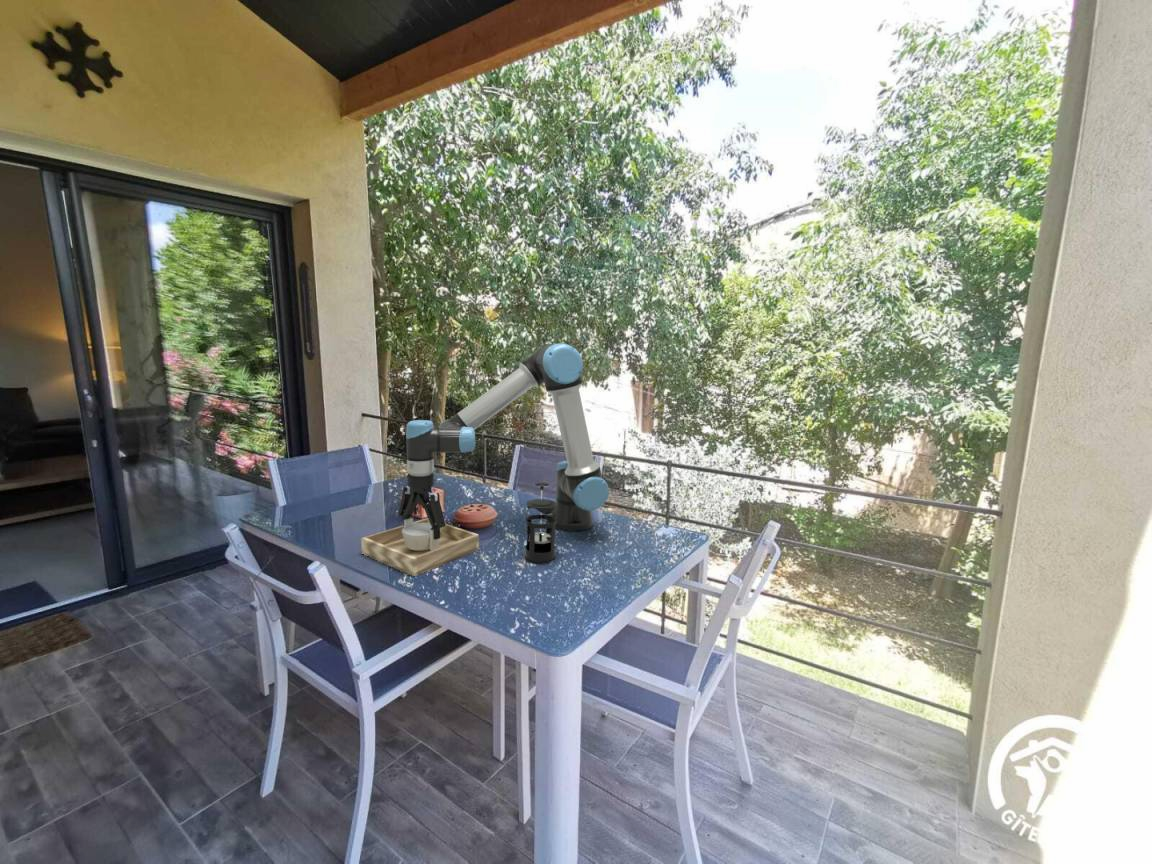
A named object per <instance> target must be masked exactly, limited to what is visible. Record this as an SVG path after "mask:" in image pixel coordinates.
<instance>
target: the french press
mask: <svg viewBox="0 0 1152 864" xmlns="http://www.w3.org/2000/svg"><path fill="white" fill-rule="evenodd" d="M534 486H536V487H539V489H540V498H538V499H537V498H536V499H531V500H528V501H526V503H525V505H526V506H527V511H529V510H530V509H535V510H537V511H539V512H540V514H533V515H528V516H527V517H526V518H525V525H526V545H525V548H524V558H523V559H524V560H525V561H526V562H527V563H530V564H534V563H535V565H544V564H543V563H547V564H549V563H548V562H551V561H553V560H554V561H555V560H556V559H555V558H557V556H556V545H555V543H556V542H555V539H556V538H555V536H556V532H555V531H556V528H555V525H556V518H555V515H552V513H553V512H555V506H556V505H557V503H556V500H555V501H554V500H551V499H546V498H543V491H544V487H548V486H550V483H548V482H544V481H541V482H539V481H538V482H535V483H534ZM532 520H540V521H539V522H540V523H533V522H532ZM543 520H546V523H544V524H542V522H543ZM536 529H539V531H540V532H538V531H537V532H536ZM543 529H545V532H543V531H542V530H543ZM554 561H553V562H554ZM551 563H552V562H551Z"/></svg>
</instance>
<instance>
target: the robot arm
mask: <svg viewBox="0 0 1152 864" xmlns="http://www.w3.org/2000/svg"><path fill="white" fill-rule="evenodd" d="M583 361H584V360H583V357H582V355H581V354H580V352H579V351H578V350H577V349H576V348H575V347H573V346H571V345H569V344H566V343H547V344H544V345H542V346H540V347H539V348H538V349H536V350H535V351H534V352H533V353H532V354H530V355H529V356H528V357H526V358H525V359H524V360H523V361H522V362H520V363H519V366H518V368H517V369H515V370H514V371H513V372H512V373H510V374H509V375H507V376H506V377H505V378H504V379H502V380H501V381H500V382H498V383H497V384H496V385H494V386H492V387H491V388H490V389H489V390H487V391H486V392H485V393H483V394H481V395H480V396H479V397H478V398H476V399H475V400H474V401H472V402H470V403H469V404H468V405H467V406H466V407H464V408H463V409H461V410H460V411H459V412H458V413H456V414H454V415H453V416H452V417H450V418H449V419H445V420H444V421H442V422H440V424H439V426H434V423H433V421H432V420H427V419H425V420H424V419H417V420H410V421H409V422H407V424H406V433H405V435H406V436H405V437H406V438H405V442H406V443H405V444H406V472H407V473H408V474H407V475H406V481H407V483H406V485H407V486H404V487H402V496H401V501H400V505H399V509H398V516H399V517H401V518H402V520H403V525H404V527H406V526H408V525H411V524H413V522H414V517H413V514H414V512H415V510H416V507H417V506H418V505H419V506H421V507H422V509H424V511H425V514H426V516H427V517H426V518H428V519H429V521H430V524H431V526H432V528H431V529H430V550H435V549H437V548H439V538H440V528H441V527H444V526H445V524H446V520H445V516H444V513H443V509H442V505H441V501H440V500H441V498H440V494H439V492H437V493H434V492H432V488H433V487H434V485H435V475H434V472H435V460H434V457H435V456H434V454H442V453H444V454H447V453H448V454H449V453H461V454H462V453H470V452H473V451H474V450H475V448H476V431H475V430H476V429H477V428H479V427H481V426H482V425H483V424H485V423H486V422H487V421H488V420H490V419H491V418H492V417H494V416H495V415H497V414H498V413H500V412H501V411H502V410H503V409H505V408H506V407H507V406H509V405H510V404H512V403H513V402H514V401H516V400H518V398H519V397H521V396H522V395H523V394H525V393H526V392H528V391H529V390H530V389H531V388H538V387H539V386H541V385H543V384H544V387H545V391H546V392H547V393H548V394H550V395H551V396H552V400H553V404H554V405H553V406H554V410H555V414H556V418H557V419H556V420H557V423H558V427H559V431H560V435H561V441H562V445H563V449H564V455H565V458H566V460H563V461H559V462H558V463H557V467H556V494H555V496H556V498H555V502H556V503H557V505H556V506H555V512H553V513H551V515H555V518H556V525H555V529H557V528H558V529H557V530H561V529H562V530H561V531H566V530H569V531H570V532H577V531H576V530H581V531H585V530H584V529H586V530H588V529H587V528H589V529H590V527H591V526H592V525H593V524H594V517H593V516H592V515H593V514H592V511H596V510H599V509H600V508H602V506H604V505H605V503H606V502H607V500H608V498H609V496H610V495H609V494H610V488H609V485H608V483H607V482H606V480H605V479H604V478H603V476H602V475H603V474H602V470H601V466H600V463H599V462H597V461H595V460H594V454H593V450H592V445H591V441H590V436H589V431H588V427H587V422H586V417H585V412H584V408H583V403H582V398H581V393H580V388H581V386H582V385H583V380H582V372H583V368H584V362H583ZM435 524H436V525H435ZM592 527H593V526H592ZM592 527H591V528H592ZM569 531H568V532H569Z"/></svg>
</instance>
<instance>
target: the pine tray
mask: <svg viewBox="0 0 1152 864" xmlns="http://www.w3.org/2000/svg"><path fill="white" fill-rule="evenodd" d="M416 523H430V521H429V519H428V517H426V518H423V519H420V520H416V521H413V524H416ZM403 528H404V524H403V525H399V526H396V527H392V528H389V529H387V530H382V531H380V532H377V533H373V534H370V535H366V536H363V537H361V538H360V542H361V555H362V554H364V555H363V556H365V555H366V556H365V557H367V556H369V557H371V558H370V559H372V558H373V559H372V560H374V559H375V561H376V560H377V562H379V563H381V564H383V563H384V565H385V566H388V567H390V566H391V568H392V567H393V569H395V570H397V571H399V570H400V572H402V573H404V572H405V573H404V574H406V573H407V574H406V575H409V574H410V575H409V576H411V575H412V577H413V576H415V577H417V576H420V575H422V574H425V573H427V572H430V571H431V569H432V570H434V569H436V567H437V568H439V567H442V566H443V565H446V564H448V563H450V562H453V561H456V560H459V559H461V558H463V557H465V556H468V555H470V554H473V553H474V552H478V551H479V549H480V534H478V533H475V532H472V531H469V530H466V529H463V528H460V527H456V526H454V525H452V524H447V523H445V526H444V527H441V531H440V538H439V548H437V549H435V550H430V549H427V550H411V549H409V548H407V547H406V545H405V542H404V537H403V534H402V529H403ZM369 557H368V558H369ZM441 565H442V566H441ZM426 571H427V572H426ZM424 572H425V573H424ZM421 573H422V574H421ZM419 574H420V575H419Z"/></svg>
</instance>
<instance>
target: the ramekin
mask: <svg viewBox="0 0 1152 864" xmlns="http://www.w3.org/2000/svg"><path fill="white" fill-rule="evenodd" d="M435 525H436V524H435ZM431 528H432V526H431V524H430V523H416V524H411V525H408V526H406V527H404V528H403V529H402V534H403V537H404V542H405V545H406V547H407V548H409V549H411V550H427V549H430V529H431ZM440 531H441V528H440Z"/></svg>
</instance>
